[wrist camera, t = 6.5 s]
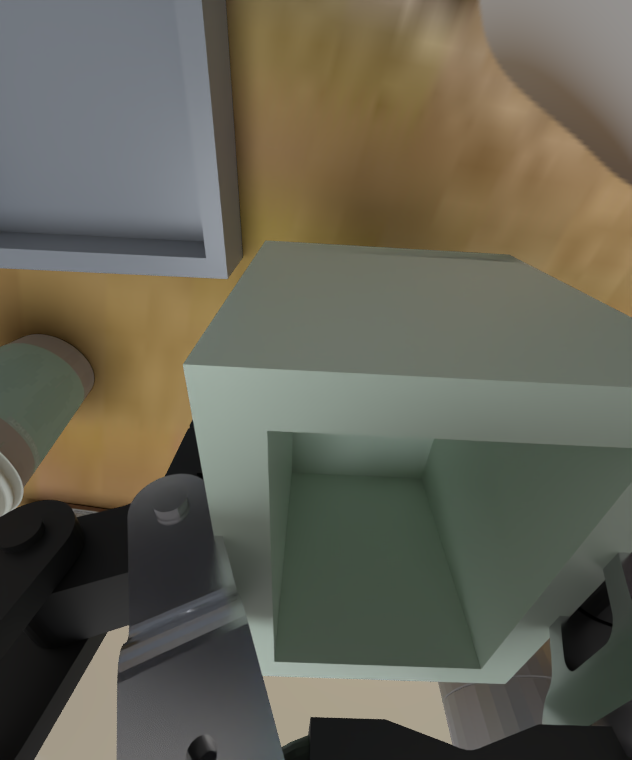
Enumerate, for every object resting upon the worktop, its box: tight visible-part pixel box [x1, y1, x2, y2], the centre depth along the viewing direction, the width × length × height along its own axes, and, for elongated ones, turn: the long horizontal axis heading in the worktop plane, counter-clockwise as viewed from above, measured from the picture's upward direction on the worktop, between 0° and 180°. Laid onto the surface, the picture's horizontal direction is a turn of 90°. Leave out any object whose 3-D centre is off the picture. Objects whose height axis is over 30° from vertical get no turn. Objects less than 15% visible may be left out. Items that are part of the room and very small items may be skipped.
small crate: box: [183, 241, 632, 684], centre depth 8 cm, size 6×8×6 cm
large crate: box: [0, 0, 243, 279], centre depth 15 cm, size 16×16×4 cm
